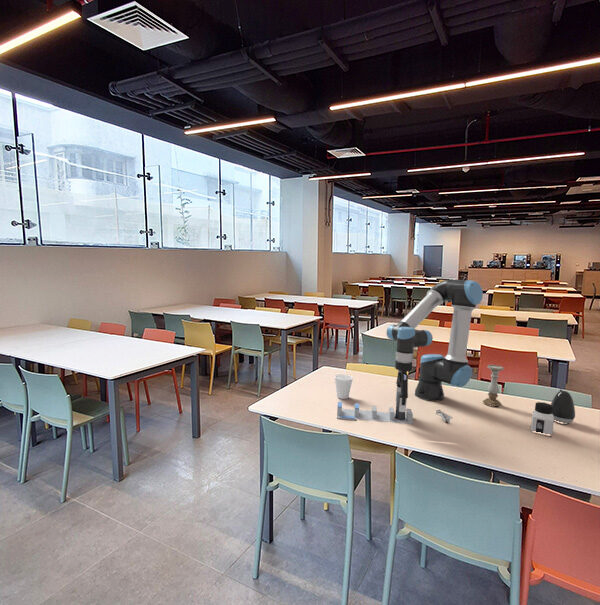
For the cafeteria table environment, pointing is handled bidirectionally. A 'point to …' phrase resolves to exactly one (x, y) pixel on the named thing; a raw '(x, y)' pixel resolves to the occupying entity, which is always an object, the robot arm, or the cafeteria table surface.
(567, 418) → the black egg shaped speaker
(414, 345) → the robot arm
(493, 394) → the candle holder
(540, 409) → the container
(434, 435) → the cafeteria table surface
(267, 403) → the cafeteria table surface
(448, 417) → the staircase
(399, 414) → the dark grey tall block
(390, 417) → the grey slotted rack
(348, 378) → the cup
